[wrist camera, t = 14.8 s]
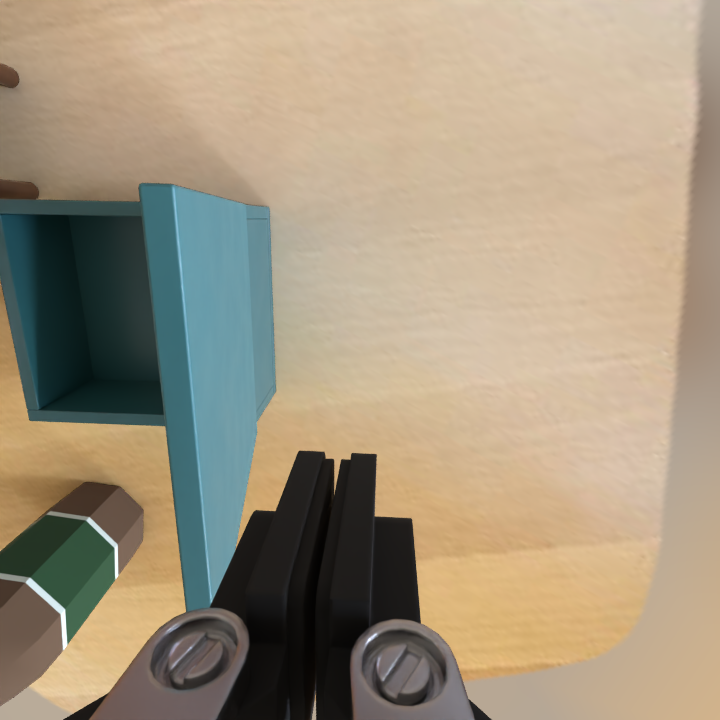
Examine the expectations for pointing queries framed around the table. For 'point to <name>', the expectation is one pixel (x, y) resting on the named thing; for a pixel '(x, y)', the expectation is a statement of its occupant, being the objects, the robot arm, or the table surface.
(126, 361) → the teal open box
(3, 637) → the beer bottle
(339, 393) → the table surface
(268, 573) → the robot arm
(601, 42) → the table surface
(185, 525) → the lid
